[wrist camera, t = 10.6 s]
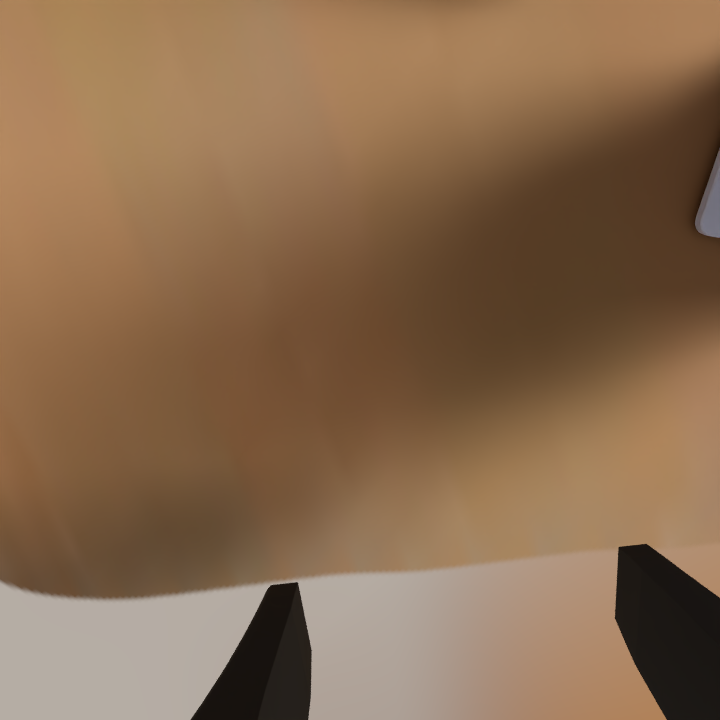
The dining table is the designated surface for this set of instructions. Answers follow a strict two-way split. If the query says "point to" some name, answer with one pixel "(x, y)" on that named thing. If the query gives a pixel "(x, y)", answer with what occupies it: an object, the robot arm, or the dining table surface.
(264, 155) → the dining table surface
